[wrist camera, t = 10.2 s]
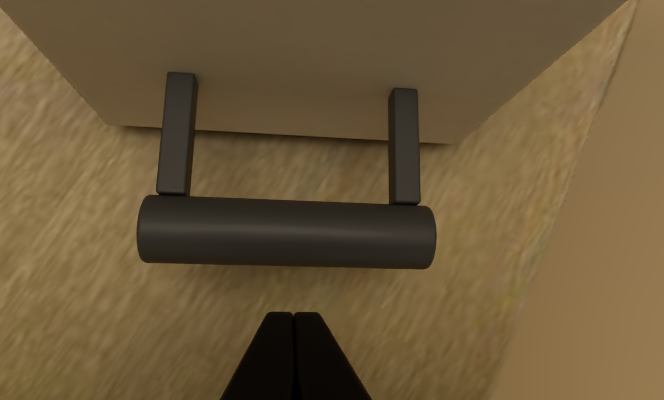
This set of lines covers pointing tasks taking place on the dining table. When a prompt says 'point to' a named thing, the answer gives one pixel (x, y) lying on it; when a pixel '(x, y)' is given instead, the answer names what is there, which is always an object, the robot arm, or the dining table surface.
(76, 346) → the dining table surface
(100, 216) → the dining table surface
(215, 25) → the drawer
